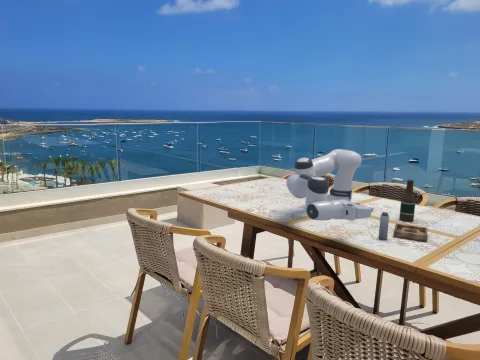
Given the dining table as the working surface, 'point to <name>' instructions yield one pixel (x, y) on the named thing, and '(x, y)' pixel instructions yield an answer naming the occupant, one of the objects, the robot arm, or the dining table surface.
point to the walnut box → (410, 232)
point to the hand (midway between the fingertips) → (365, 207)
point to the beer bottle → (408, 203)
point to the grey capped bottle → (383, 226)
